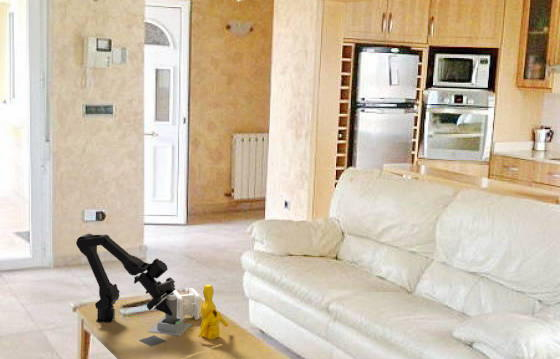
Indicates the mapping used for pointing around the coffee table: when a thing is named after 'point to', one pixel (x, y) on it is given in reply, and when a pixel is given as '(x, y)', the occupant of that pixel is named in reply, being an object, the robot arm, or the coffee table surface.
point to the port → (171, 327)
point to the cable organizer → (188, 304)
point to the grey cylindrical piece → (172, 305)
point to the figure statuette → (210, 316)
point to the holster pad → (152, 340)
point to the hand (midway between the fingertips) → (174, 312)
